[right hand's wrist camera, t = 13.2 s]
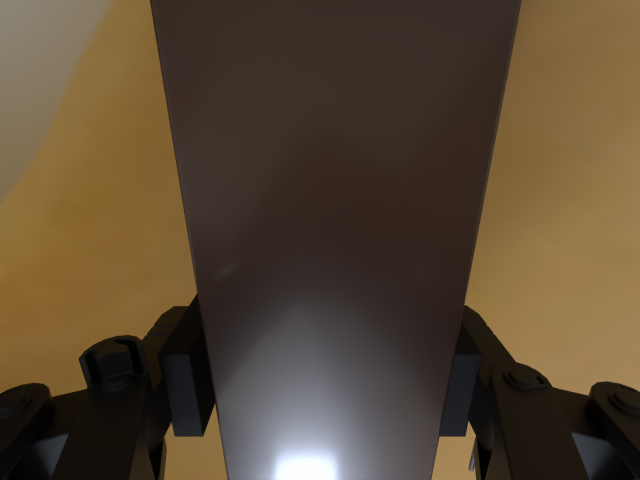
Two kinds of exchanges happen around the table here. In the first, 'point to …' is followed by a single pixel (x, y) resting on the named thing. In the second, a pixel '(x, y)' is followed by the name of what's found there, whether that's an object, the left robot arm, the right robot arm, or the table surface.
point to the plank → (332, 216)
